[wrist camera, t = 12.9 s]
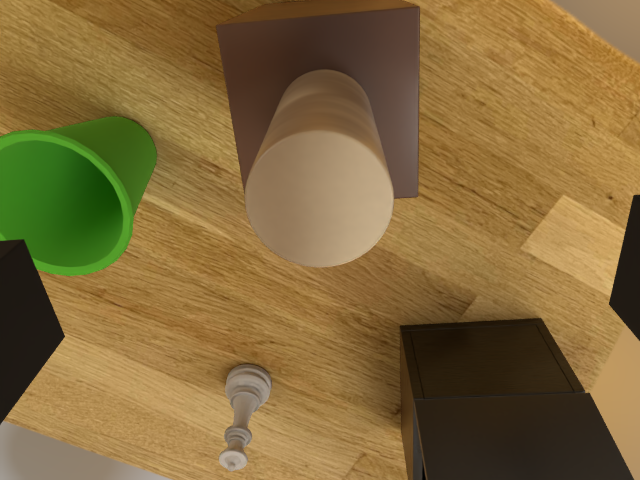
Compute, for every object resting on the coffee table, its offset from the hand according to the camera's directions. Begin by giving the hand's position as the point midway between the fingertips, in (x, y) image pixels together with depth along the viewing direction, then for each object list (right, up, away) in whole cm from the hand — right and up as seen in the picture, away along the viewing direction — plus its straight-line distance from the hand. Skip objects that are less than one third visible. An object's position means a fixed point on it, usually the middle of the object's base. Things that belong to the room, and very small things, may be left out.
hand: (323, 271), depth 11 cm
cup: (-15, +8, +27) cm, 32 cm away
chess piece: (-7, -13, +38) cm, 40 cm away
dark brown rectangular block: (+1, +13, +23) cm, 27 cm away
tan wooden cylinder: (0, +6, +10) cm, 12 cm away
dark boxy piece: (+14, -13, +37) cm, 41 cm away
